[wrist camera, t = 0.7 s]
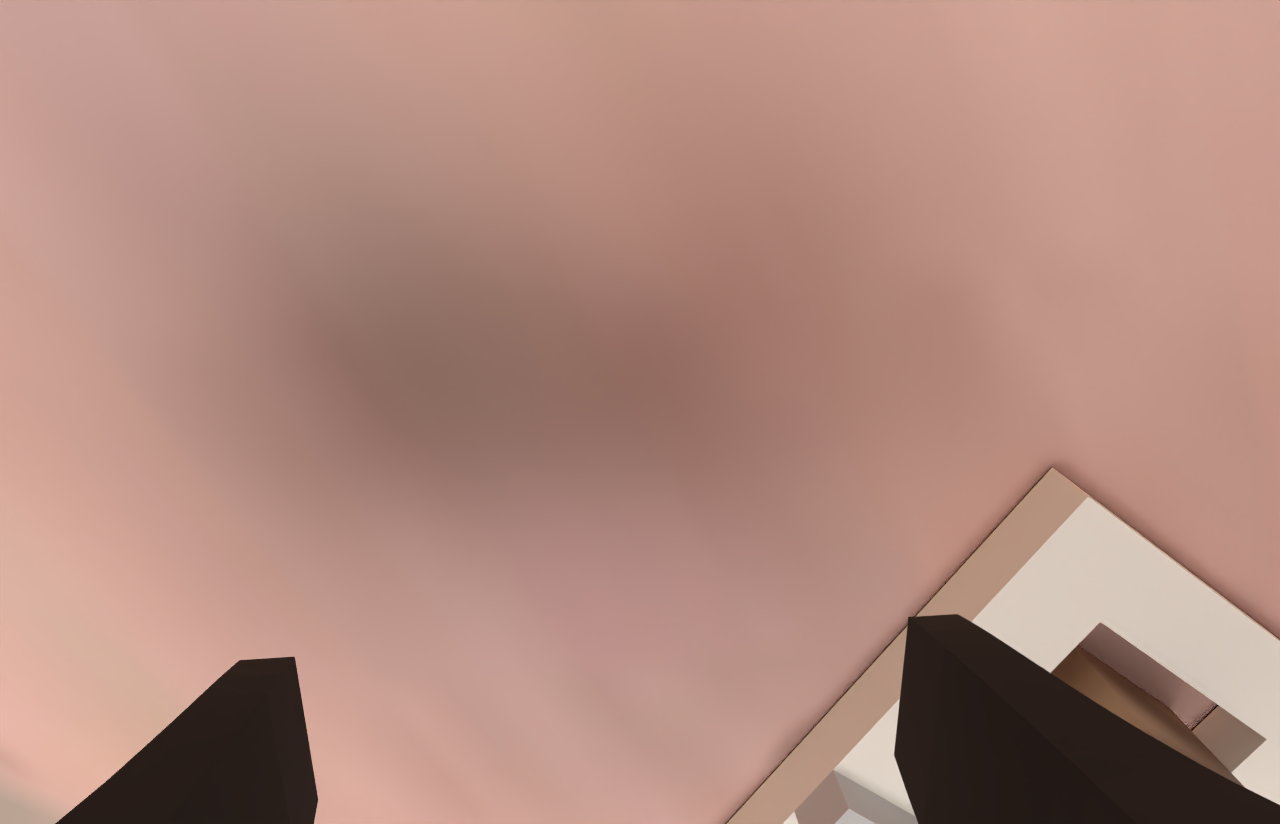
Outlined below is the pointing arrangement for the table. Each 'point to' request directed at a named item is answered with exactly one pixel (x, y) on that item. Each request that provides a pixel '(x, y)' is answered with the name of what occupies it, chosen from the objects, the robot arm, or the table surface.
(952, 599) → the puzzle board
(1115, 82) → the table surface
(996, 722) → the robot arm
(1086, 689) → the walnut block
